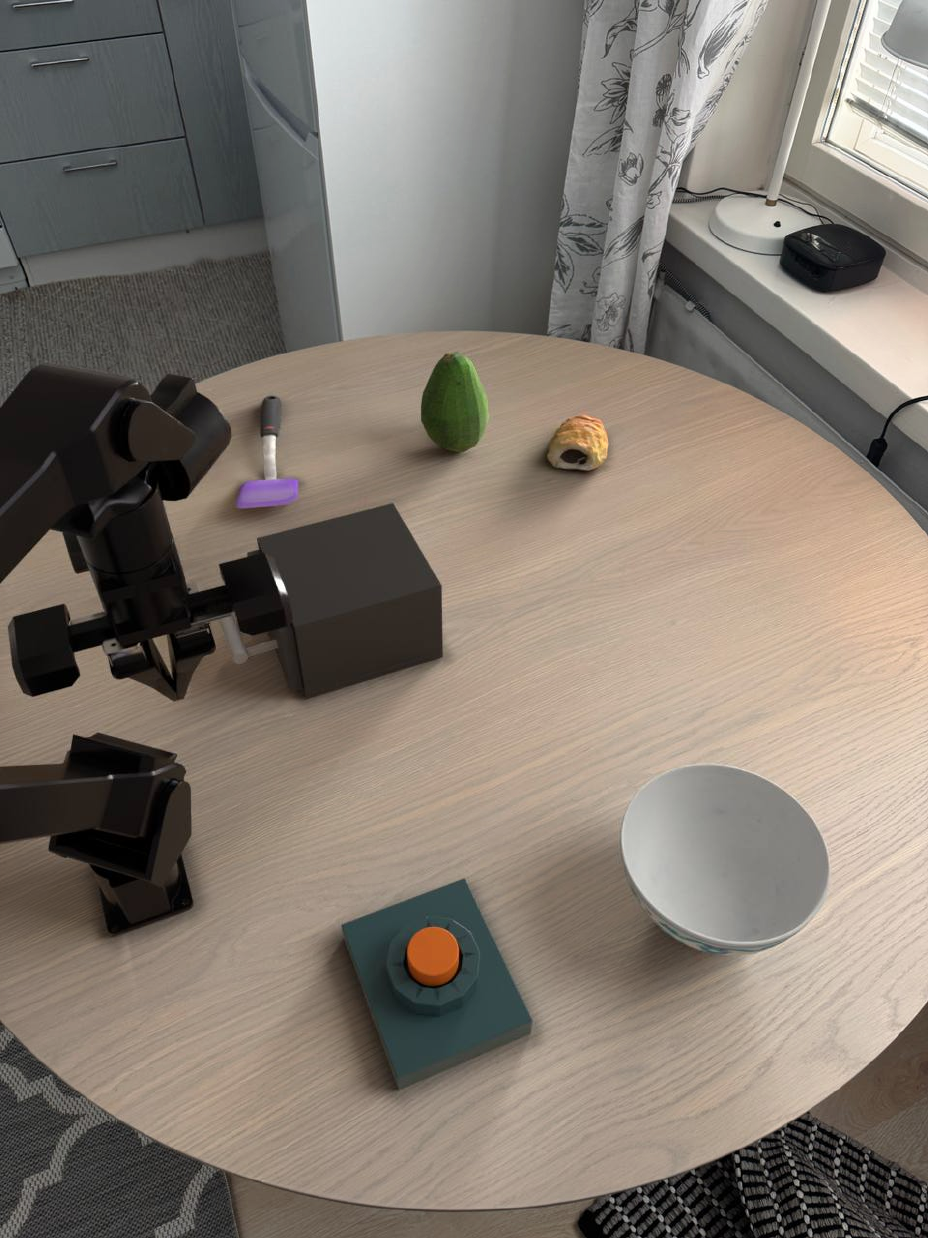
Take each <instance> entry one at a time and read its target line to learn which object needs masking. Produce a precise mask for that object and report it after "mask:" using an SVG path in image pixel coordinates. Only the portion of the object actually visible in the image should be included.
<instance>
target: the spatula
mask: <svg viewBox="0 0 928 1238" xmlns="http://www.w3.org/2000/svg"><path fill="white" fill-rule="evenodd" d="M281 416H282V399H281V398H280V397H279V396H276V395H268V396H266V397H264V398H263V399H262V402H261V407H260V423H259V426H260V427H259V435H260V437H261V439H262V461H263V462H262V463H263V464H262V465H263V478H264V479H260V480H257V479H256V480H249V481H245V482H244V483H242V485H240V488H239V491H238V494H237V497H236V501H235V504H234V506H235V508H237V509H240V510H241V509H242V510H244V509H252V508H265V507H266V508H268V507H278V506H279V507H280V506H283V505H287V504H289V503H290V504H291V503H292V502H295V501H296V500H297V499H298V498H299V481H298V480H297V479H295V478H277V467H276V466H277V460H276V459H277V456H276V450H277V449H276V445H277V444H276V443H277V440H276V439H277V438H278V437H279V435H280V426H281V418H282V417H281Z"/></svg>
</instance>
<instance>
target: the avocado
mask: <svg viewBox="0 0 928 1238" xmlns="http://www.w3.org/2000/svg"><path fill="white" fill-rule="evenodd" d="M480 379H481V378H480V377H479V375H478V373H477V370H476V369H475V366H474V364H473V362H472V361H471V360H470V358H468V357H466V356H465V355H464V354H463V353H461V352H459V351H455V352H447V353H444V355H443V356H442V357H441V358H439V360H438V361H437V363H436V364H435V366H434V367H433V370H432V372H431V373H430V376H429V378H428V381H427V382H426V385H425V387H424V389H423V392H422V396H421V403H420V421H421V423H422V426H423V428H424V430H425V432H426V435H427V437H428V438H429V439H430V440H431V441H432V442H433V443H434V444H436V445H438V446H439V447H441V448H443V449H445V450H448V451H451V452H456V453H457V452H458V453H459V452H462V453H464V452H466V451H468V450H471V449H472V448H474V447H477V445H478V443H480V441H481V440H482V438H483V437H484V435H485V433H486V429H487V426H488V424H489V423H488V422H489V419H490V417H489V403H488V402H489V400H488V397H487V393H486V391H485V389H484V386H483V383H482V381H481V380H480Z"/></svg>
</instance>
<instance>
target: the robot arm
mask: <svg viewBox="0 0 928 1238" xmlns="http://www.w3.org/2000/svg"><path fill="white" fill-rule="evenodd" d="M231 440H232V427H231V423H230V421H229V420H228V419H227V418H226V417H225V415H224V413H223V412H222V410H220V408H219V407H218V406H217V405H216V404H215V402H213V401H212V400H211V399H210V398H208V397H207V396H206V395H204V394H202V393H200V392H199V391H198V389H197V385H196V381H195V379H194V378H193V377H189V376H184V375H178V374H173V373H166V375H165V376H163V378H162V379H161V380H160V381H159V382H158V384H157V386H155V389H154V390H153V392H152V393H149V390H148V389H147V388H146V386H145V385H144V383H142V382H141V381H140V380H137V379H135V378H133V377H127V376H122V375H117V374H111V373H106V372H100V371H95V370H90V369H85V368H80V367H79V368H78V367H73V366H68V365H62V364H57V363H51V362H44V363H39V364H38V365H35V366H34V367H32V368H30V370H29V371H28V372H27V373H26V374H25V376H24V377H23V378H22V379H21V380H20V382H19V383H18V384H17V385H16V387H15V388H14V390H12V391H11V393H10V394H9V396H8V397H7V398H6V399H5V400H4V402H3V403H2V405H1V406H0V585H1V584H2V583H3V581H5V580H6V579H7V577H8V576H9V575H10V574H11V573H12V572H13V571H14V570H15V569H16V567H17V566H18V565H19V564H20V563H21V562H22V561H23V560H24V559H25V558H26V556H28V554H29V553H30V552H31V551H32V550H33V549H34V548H35V546H36V545H38V543H39V542H40V541H41V540H42V539H43V538H44V537H45V536H46V535H47V533H48V532H49V531H55V532H59V533H62V536H63V540H64V544H65V547H66V550H67V554H68V558H69V560H70V563H71V566H72V568H73V571H74V573H75V574H76V575H79V574H83V573H87V572H89V575H90V576H91V579H92V582H93V585H94V586H95V590H96V592H97V595H98V597H99V600H100V604H101V606H102V609H103V611H101V612H97V613H93V614H89V615H86V616H81V617H78V618H73V619H71V614H70V612H69V609H68V607H67V604H66V603H60V604H56V605H52V606H50V607H46V608H41V609H37V610H33V611H29V612H26V613H21V614H17V615H14V616H12V618H11V620H10V621H9V624H8V625H7V633H8V641H9V651H10V658H11V660H10V661H11V667H12V670H13V674H14V677H15V680H16V681H17V684H18V686H19V688H20V690H21V692H22V693H23V694H24V695H26V696H29V697H32V698H35V697H38V696H42V695H46V694H48V693H53V692H56V691H60V690H62V689H63V690H64V689H67V688H71V687H73V686H74V684H75V683H76V682H77V680H78V679H79V678H80V677H81V671H80V667H79V665H78V663H77V660H76V655H75V653H78V652H82V651H86V650H89V649H93V648H96V647H97V648H98V647H100V646H101V648H102V651H103V653H104V654H105V656H106V657H107V660H108V665H109V669H110V673H111V676H112V677H113V679H114V680H124V679H130V680H133V681H136V682H137V683H140V684H143V685H145V686H147V687H150V688H151V689H153V690H155V691H156V692H158V693H159V694H161V695H162V696H164V697H166V698H167V699H169V700H170V701H171V702H173V703H175V702H178V701H181V700H185V698H186V695H187V692H188V689H189V686H190V684H191V681H192V679H193V675H194V674H195V672H196V671H197V669H198V667H199V666H200V664H201V662H202V661H203V659H204V658H205V657H208V656H211V655H213V654H214V653H215V652H216V651H217V644H216V642H215V638H214V634H213V631H212V628H211V624H212V622H215V621H216V622H217V621H219V620H220V619H223V618H227V617H231V616H233V615H234V617H235V620H236V624H237V626H238V629H239V632H240V633H243V634H244V635H249V636H251V637H254V636H258V635H259V636H260V635H262V634H266V633H267V632H270V631H273V630H277V629H280V628H284V627H288V625H289V624H290V623H291V621H292V620H293V616H292V611H291V605H290V601H289V598H288V594H287V591H286V589H285V586H284V584H283V581H282V578H281V576H280V573H279V571H278V568H277V566H276V563H275V561H274V558H273V557H271V556H269V555H268V554H266V553H260V554H256V555H252V556H248V555H247V556H244V557H240V558H236V559H233V560H228V561H226V562H225V561H224V562H221V563H218V568H219V573H220V577H221V579H222V581H223V583H224V585H218V586H215V587H212V588H207V589H204V590H199V587H198V584H197V582H196V581H190V582H186V581H187V580H186V577H185V576H186V575H185V571H184V568H183V565H182V561H181V558H180V555H179V552H178V548H177V546H176V541H175V538H174V534H173V531H172V528H171V525H170V521H169V517H168V513H167V510H166V506H165V503H164V501H165V502H178V501H182V500H183V501H184V500H187V498H189V496H190V495H191V494H192V493H193V491H194V490H195V488H196V487H197V486H198V485H199V484H200V482H201V481H202V480H203V478H204V477H205V476H206V475H207V473H208V472H209V471H210V470H211V468H212V467H213V466H214V464H215V463H216V462H217V461H218V460H219V458H220V457H221V456H222V454H223V453H224V452H225V451H226V450H227V448H228V447H229V445H230V443H231ZM233 610H234V612H233ZM163 636H166V640H167V649H168V655H169V665H170V670H169V667H168V666H167V664H166V662H165V661H164V658H163V657H162V656H163V655H162V654H161V653H160V650H159V649H158V646H157V645H156V642H155V641H154V639H156V638H159V637H163ZM170 671H171V672H170ZM177 758H178V754H177V753H175V752H171V751H168V750H164V749H160V748H157V747H152V746H150V745H146V744H141V743H138V742H134V741H132V740H127V739H123V738H120V737H117V736H113V735H109V734H106V733H102V732H95V733H94V734H92V735H91V736H90V735H89V736H86V737H85V736H81V735H78V734H75V733H73V734H72V737H71V744H70V748H69V750H67V751H66V753H65V756H64V758H63V761H62V762H61V763H45V764H24V765H23V764H22V765H9V766H8V765H2V766H1V765H0V845H6V844H11V843H18V842H23V841H29V840H36V839H42V838H48V837H50V838H49V843H48V848H47V849H48V852H50V853H52V854H54V855H56V856H58V857H61V858H64V859H67V858H68V859H71V860H75V861H78V862H81V863H84V864H88V865H89V867H90V870H91V871H92V873H93V876H94V878H95V879H96V881H97V884H98V889H99V893H100V900H101V904H102V905H101V906H102V909H103V915H104V920H105V927H106V931H107V933H108V935H109V936H111V937H118V936H120V935H122V934H126V933H128V932H131V931H134V930H136V929H139V928H143V927H145V926H147V925H151V924H153V923H156V922H159V921H161V920H165V919H167V918H170V917H173V916H175V915H178V914H182V913H184V912H188V911H189V910H191V909H193V907H194V905H195V900H194V896H193V893H192V889H191V884H190V881H189V876H188V874H187V869H186V866H185V863H184V858H183V854H182V853H183V851H184V849H185V848H186V846H187V844H188V842H189V841H190V839H191V837H192V833H193V832H192V831H193V830H192V828H193V826H192V788H191V787H192V786H191V785H190V783H189V782H188V781H186V780H185V776H186V773H187V769H186V766H184V765H183V764H182V763H178V762H176V760H177ZM187 902H189V903H187ZM186 903H187V904H186ZM114 928H116V929H115V930H113V929H114Z"/></svg>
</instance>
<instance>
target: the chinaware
mask: <svg viewBox="0 0 928 1238" xmlns="http://www.w3.org/2000/svg"><path fill="white" fill-rule="evenodd" d="M619 848H620V849H619V851H620V857H621V862H622V866H623V871H624V874H625V877H626V880H627V883H628V886H629V887H630V890H631V892H632V894H633V896H634V898H635V900H636V901H637V902H638V904H639V905H640V907H641V908H642V910H643V911H644V912H645V914H646V915H647V916H648V917H649V919H650V920H651V921H652V922H653V923H654V924H655V925H656V926H657V927H659V929H660V930H662V931H663V932H664V933H665V934H667V935H669V936H670V937H671V938H673V939H674V940H676V941H678V942H679V943H681V944H684V945H686V946H688V947H690V948H693V949H695V950H698V951H701V952H704V953H709V954H713V955H720V956H745V955H752V954H757V953H760V952H764V951H766V950H770V949H772V948H775V947H776V946H779V945H781V944H783V943H785V942H786V941H788V940H790V939H791V938H792V937H794V936H796V935H797V934H798V933H799V932H800V931H802V930H803V929H805V927H806V926H807V925H808V924H809V923H811V922H812V921H813V919H814V918H815V917H816V916H817V914H818V913H819V912H820V910H821V909H822V907H823V905H824V903H825V902H826V898H827V896H828V892H829V888H830V885H831V876H832V870H831V869H832V868H831V867H832V866H831V857H830V852H829V849H828V846H827V843H826V840H825V838H824V835H823V833H822V831H821V829H820V827H819V825H818V824H817V822H816V821H815V819H814V818H813V816H812V815H811V814H810V812H809V811H808V810H807V809H806V808H805V807H804V806H803V804H802V803H801V802H799V800H797V798H795V797H794V796H793V795H792V794H790V792H788V791H787V790H785V789H784V788H783V787H781V786H779V785H778V783H776V782H774V781H771V780H770V779H768V778H766V777H765V776H762V775H760V774H758V773H755V772H753V771H750V770H747V769H744V768H741V767H736V766H733V765H732V766H731V765H726V764H720V763H694V764H688V765H687V764H686V765H682V766H678V767H674V768H671V769H669V770H666V771H664V772H661V773H660V774H658V775H656V776H654V777H653V778H651V779H650V780H649V781H647V782H646V783H645V784H644V785H642V786H641V788H639V789H638V791H636V793H635V794H634V795H633V797H632V798H631V800H630V801H629V802H628V805H627V807H626V809H625V811H624V813H623V817H622V821H621V824H620V830H619Z"/></svg>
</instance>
